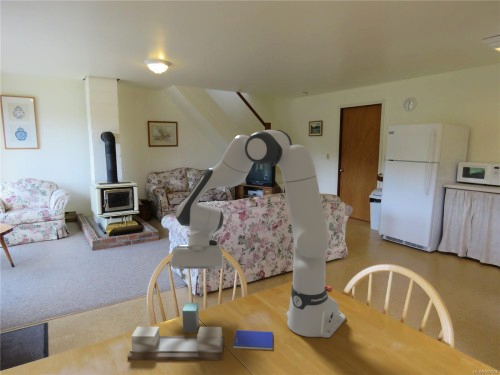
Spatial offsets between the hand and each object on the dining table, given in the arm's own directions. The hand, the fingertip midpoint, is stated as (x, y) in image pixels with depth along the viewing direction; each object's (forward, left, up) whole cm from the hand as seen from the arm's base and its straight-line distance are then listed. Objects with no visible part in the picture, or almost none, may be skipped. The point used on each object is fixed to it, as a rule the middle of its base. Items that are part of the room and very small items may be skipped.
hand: (195, 279), depth 118 cm
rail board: (+16, +15, -13) cm, 25 cm away
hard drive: (-5, +27, -14) cm, 31 cm away
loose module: (+7, +8, -13) cm, 17 cm away
